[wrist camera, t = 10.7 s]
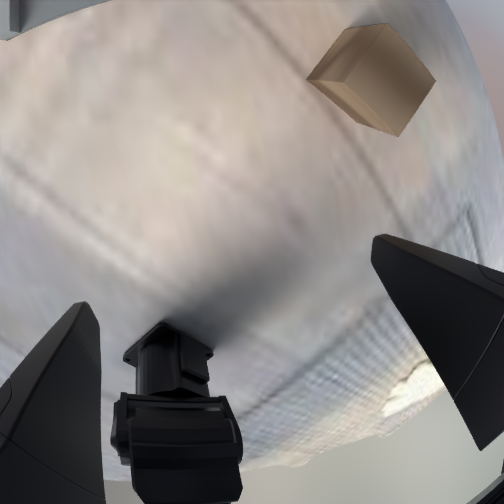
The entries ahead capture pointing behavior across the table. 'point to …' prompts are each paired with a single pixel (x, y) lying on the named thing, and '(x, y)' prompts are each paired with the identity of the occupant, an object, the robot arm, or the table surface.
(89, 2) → the cradle tray
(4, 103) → the table surface
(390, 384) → the table surface
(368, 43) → the walnut block
